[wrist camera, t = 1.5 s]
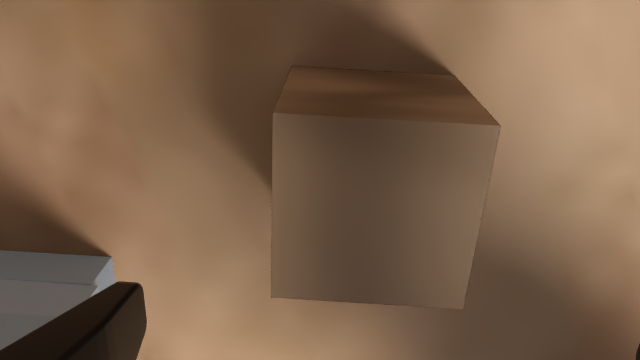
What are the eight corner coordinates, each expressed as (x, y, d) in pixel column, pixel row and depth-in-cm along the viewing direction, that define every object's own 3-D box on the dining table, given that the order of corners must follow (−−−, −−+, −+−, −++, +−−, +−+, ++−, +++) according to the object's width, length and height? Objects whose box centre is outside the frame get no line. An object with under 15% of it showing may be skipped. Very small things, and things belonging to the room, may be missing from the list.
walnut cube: (453, 74, 16) (500, 126, 11) (431, 216, 18) (462, 309, 13) (292, 65, 16) (272, 112, 11) (288, 208, 18) (270, 297, 13)
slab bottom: (115, 252, 19) (91, 283, 17) (132, 371, 22) (113, 410, 20) (-42, 242, 19) (-82, 273, 17) (-6, 362, 22) (-38, 400, 20)
